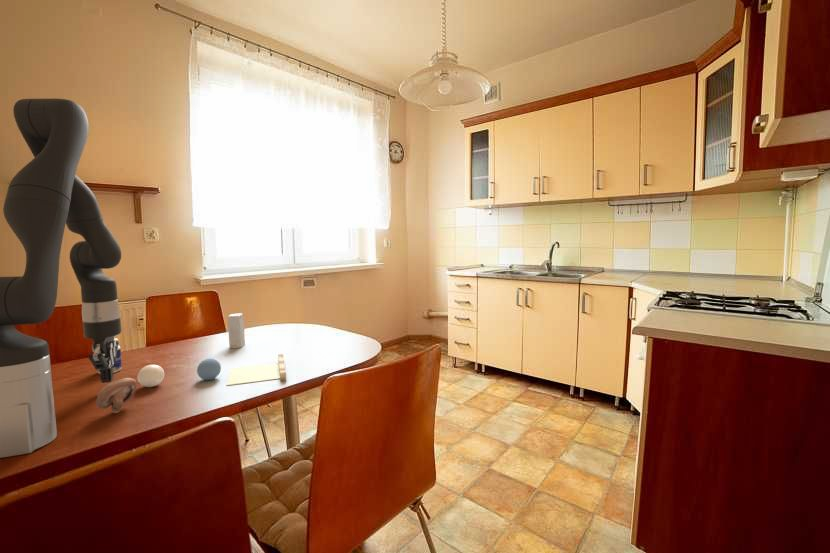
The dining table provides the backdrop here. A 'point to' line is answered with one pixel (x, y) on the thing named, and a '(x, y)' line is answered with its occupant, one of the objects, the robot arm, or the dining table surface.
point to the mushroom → (116, 394)
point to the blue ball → (208, 369)
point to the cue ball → (150, 375)
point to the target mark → (253, 374)
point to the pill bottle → (117, 363)
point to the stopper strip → (281, 367)
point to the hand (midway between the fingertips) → (107, 381)
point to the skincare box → (236, 330)
